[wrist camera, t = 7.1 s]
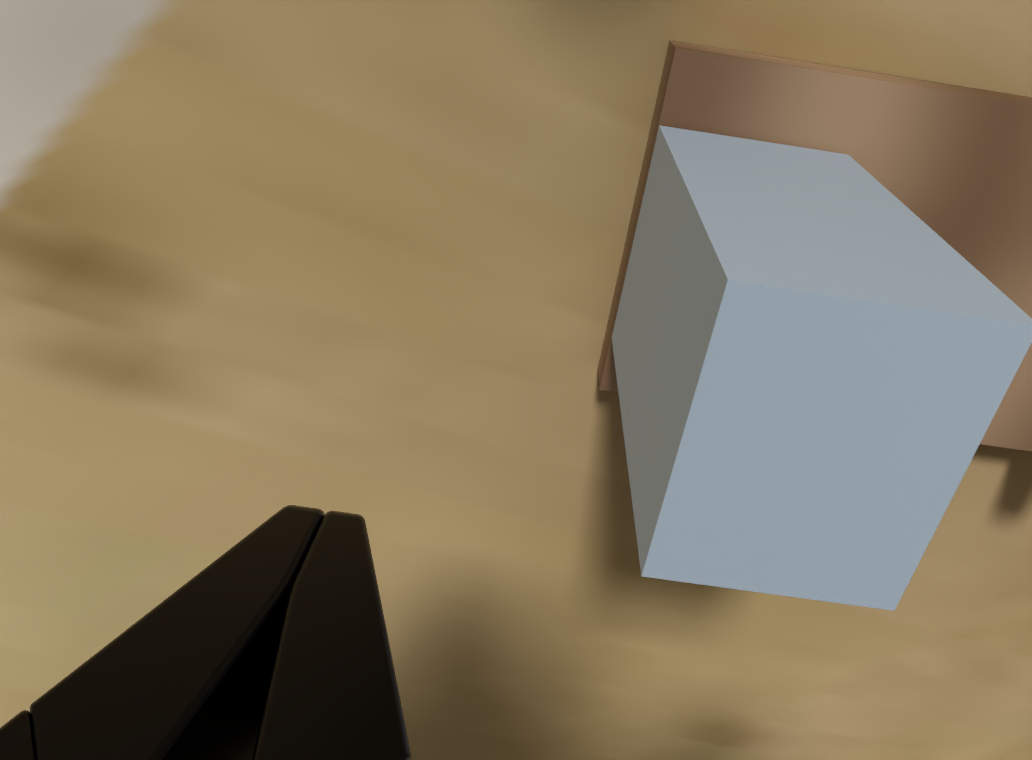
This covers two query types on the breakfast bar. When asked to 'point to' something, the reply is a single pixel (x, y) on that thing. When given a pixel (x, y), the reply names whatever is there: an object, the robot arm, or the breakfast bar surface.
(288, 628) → the robot arm
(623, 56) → the breakfast bar surface
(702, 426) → the blue block
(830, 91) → the plinth
